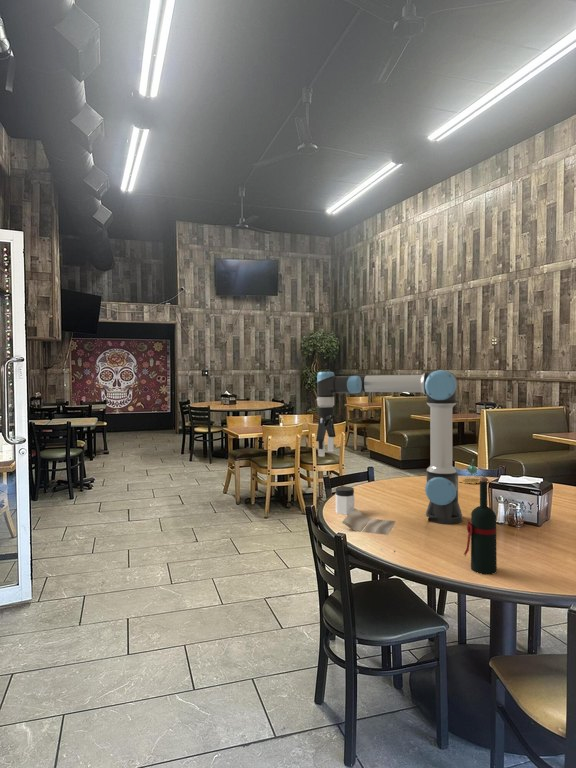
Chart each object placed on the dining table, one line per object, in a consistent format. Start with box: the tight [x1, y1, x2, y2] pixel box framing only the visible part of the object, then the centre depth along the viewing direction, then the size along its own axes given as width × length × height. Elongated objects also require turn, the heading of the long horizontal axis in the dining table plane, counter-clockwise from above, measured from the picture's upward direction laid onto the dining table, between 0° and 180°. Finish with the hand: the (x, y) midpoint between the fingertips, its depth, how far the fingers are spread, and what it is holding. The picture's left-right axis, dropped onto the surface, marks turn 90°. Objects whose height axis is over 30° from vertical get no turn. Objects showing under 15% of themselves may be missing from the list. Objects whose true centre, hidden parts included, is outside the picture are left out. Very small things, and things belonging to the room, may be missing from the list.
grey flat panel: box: [361, 518, 397, 536], centre depth 200 cm, size 23×20×1 cm
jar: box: [334, 485, 355, 516], centre depth 219 cm, size 9×8×12 cm
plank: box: [341, 507, 372, 533], centre depth 202 cm, size 8×18×1 cm, turn 158°
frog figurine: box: [461, 458, 490, 485], centre depth 278 cm, size 10×18×15 cm, turn 79°
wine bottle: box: [463, 476, 498, 575], centre depth 157 cm, size 8×10×30 cm
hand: (326, 453), depth 217 cm, fingers open, 13 cm apart
